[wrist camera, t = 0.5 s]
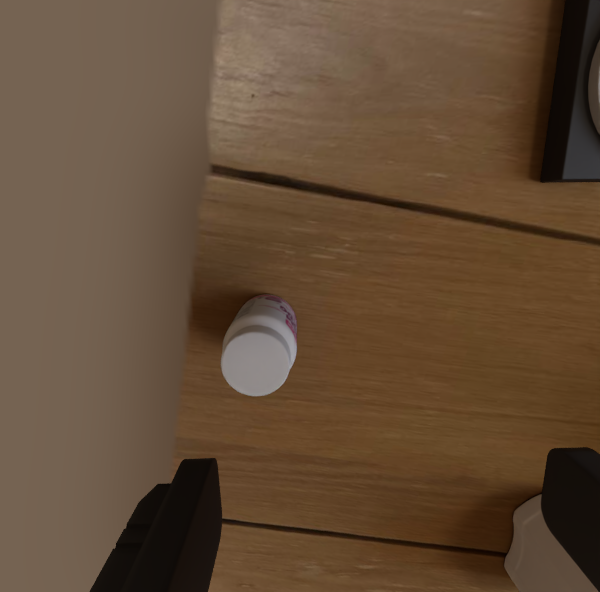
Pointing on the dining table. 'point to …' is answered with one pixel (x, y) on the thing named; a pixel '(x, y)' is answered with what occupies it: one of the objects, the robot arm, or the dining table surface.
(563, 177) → the scale
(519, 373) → the dining table surface
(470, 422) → the dining table surface
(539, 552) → the jar
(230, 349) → the pill bottle
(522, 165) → the dining table surface
